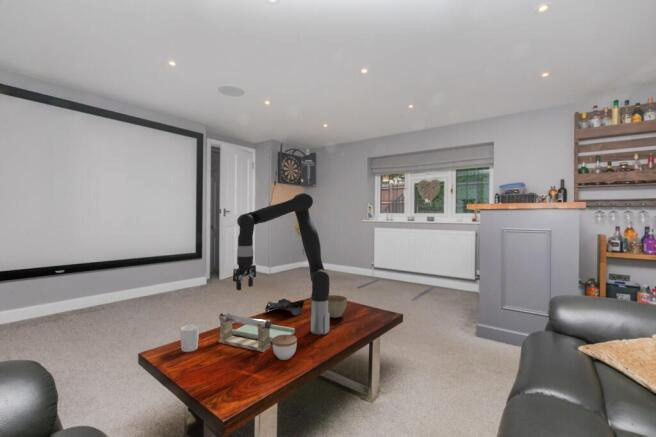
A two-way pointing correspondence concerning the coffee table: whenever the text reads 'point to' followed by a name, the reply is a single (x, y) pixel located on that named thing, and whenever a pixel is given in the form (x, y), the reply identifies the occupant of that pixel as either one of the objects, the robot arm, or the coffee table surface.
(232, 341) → the rack
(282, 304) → the grey mechanical device
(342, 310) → the planter bowl
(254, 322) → the steel rod
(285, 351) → the lidded jar
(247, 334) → the mat tray
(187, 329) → the white cup
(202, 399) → the coffee table surface
